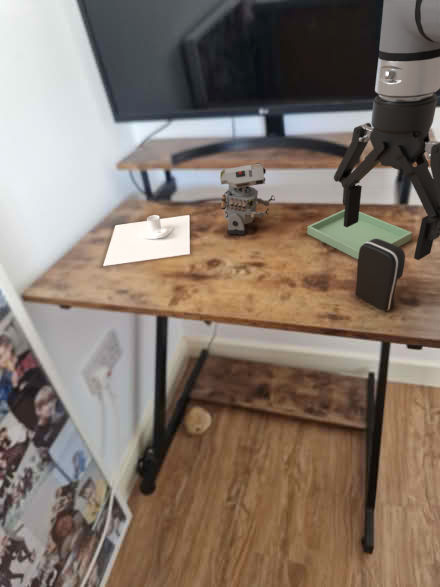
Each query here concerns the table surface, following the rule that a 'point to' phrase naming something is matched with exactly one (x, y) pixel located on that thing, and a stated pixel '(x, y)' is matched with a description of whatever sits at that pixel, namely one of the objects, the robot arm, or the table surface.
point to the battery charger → (379, 272)
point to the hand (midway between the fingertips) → (383, 238)
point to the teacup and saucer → (149, 240)
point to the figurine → (242, 196)
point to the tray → (356, 232)
